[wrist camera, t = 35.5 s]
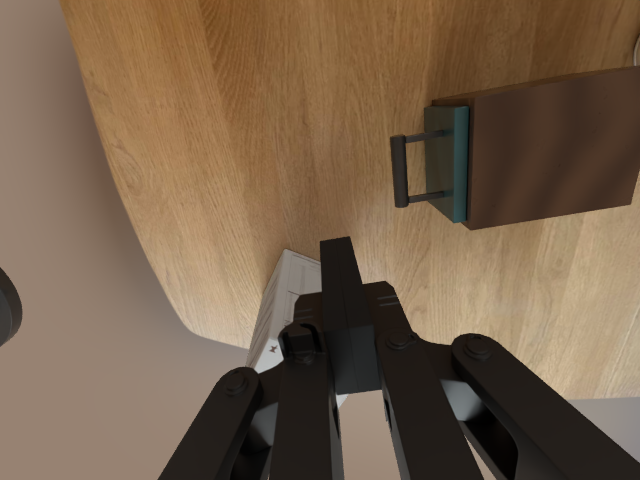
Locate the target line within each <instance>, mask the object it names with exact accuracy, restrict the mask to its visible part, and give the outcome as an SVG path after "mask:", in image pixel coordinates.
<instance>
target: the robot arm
mask: <svg viewBox="0 0 640 480" xmlns="http://www.w3.org/2000/svg"><path fill="white" fill-rule="evenodd" d="M320 259H321V287H322V292H315V293H309V294H302V295H300V296H299V297H298V299H297V300H296V302H295V304H294V314H293V322H292V323H291V324H289V325H287V326H285V327H284V328H283V329H282V330H281V331H280V333H279V335H278V338H277V339H278V342H279V346H280V349H281V352H282V356H283V361H282V362H280V363H279V364H278V365H276V366H274V367H272V368H270V369H268V370H266V371H263V372H261V373H259V374H258V372H257V371H255V370H254V369H253V368H250V367H238V368H236V369H233V370H231V371H229V372H228V373H226V374H225V375H223V376H222V377H221V378H220V380H219V381H218V382H217V383H216V385H215V386H214V388H213V390H212V391H211V393H210V395H209V396H208V398H207V400H206V401H205V403H204V404H203V406H202V408H201V409H200V411H199V413H198V414H197V416H196V418H195V419H194V421H193V423H192V424H191V426H190V427H189V429H188V431H187V432H186V434H185V436H184V437H183V439H182V441H181V442H180V444H179V445H178V447H177V449H176V450H175V452H174V454H173V455H172V457H171V459H170V460H169V462H168V464H167V465H166V467H165V468H164V470H163V472H162V473H161V475H160V477H159V478H158V480H267V479H268V476H269V480H344V470H343V458H342V445H341V432H340V419H339V410H338V405H337V400H336V394H337V395H345V394H352V393H359V392H366V391H374V390H382V393H383V399H384V408H385V416H386V421H388V424H389V428H390V432H391V437H392V442H393V446H394V450H395V455H396V459H397V464H398V468H399V472H400V477H401V480H484V478H483V476H482V474H481V471H480V469H479V467H478V465H477V462H476V460H475V458H474V456H473V454H472V451H471V449H470V447H469V445H468V442H467V440H466V438H467V439H468V441H469V442H470V443H471V444H472V446H473V447H474V449H475V450H476V452H477V453H478V454H479V456H480V457H481V459H482V460H483V461H484V463H485V464H486V466H487V467H488V468H489V470H490V471H491V472H492V474H493V475H494V476H495V478H496V479H497V480H640V463H639V462H638V461H637V460H635V459H634V458H633V457H632V456H631V455H630V454H628V453H627V452H626V451H625V450H624V449H622V448H621V447H620V446H619V445H618V444H617V443H615V442H614V441H613V440H612V439H611V438H610V437H608V436H607V435H606V434H605V433H604V432H603V431H601V430H600V429H599V428H598V427H597V426H595V425H594V424H593V423H592V422H591V421H590V420H588V419H587V418H586V417H585V416H583V414H581V413H580V412H579V411H578V410H577V409H576V408H574V407H573V406H572V405H571V404H570V403H568V402H567V401H566V400H565V399H564V398H563V397H561V396H560V395H559V394H558V393H557V392H556V391H554V390H553V389H552V388H551V387H550V386H549V385H547V384H546V383H545V382H544V381H543V380H541V379H540V378H539V377H538V376H537V375H536V374H534V373H533V372H532V371H531V370H530V369H529V368H527V367H526V366H525V365H524V364H523V363H522V362H520V361H519V360H518V359H517V358H516V357H514V356H513V355H512V354H511V353H510V352H509V351H507V350H506V349H505V348H504V347H503V346H502V345H500V344H499V343H498V342H496V341H495V340H493V339H492V338H490V337H487V336H484V335H481V334H473V333H468V334H463V335H460V336H458V337H457V338H455V339H454V341H453V342H452V344H451V345H444V344H436V343H431V342H428V341H425V340H423V339H421V338H420V337H419V336H418V335H417V333H415V332H414V331H412V329H411V327H410V325H409V322H408V320H407V318H406V315H405V313H404V311H403V308H402V306H401V304H400V301H399V299H398V297H397V294H396V292H395V290H394V288H393V286H391V285H390V284H389V283H387V282H386V281H381V282H374V283H368V284H362V280H361V276H360V273H359V269H358V265H357V261H356V258H355V254H354V250H353V246H352V243H351V239H350V236H348V237H342V238H336V239H330V240H324V241H320ZM381 388H382V389H381ZM464 435H465V436H466V438H465V436H464ZM269 473H270V474H269Z"/></svg>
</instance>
